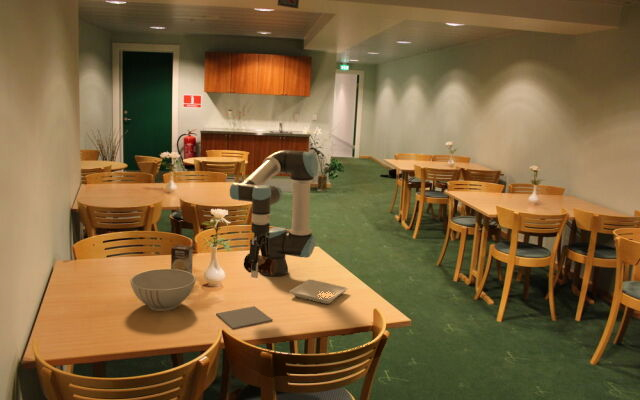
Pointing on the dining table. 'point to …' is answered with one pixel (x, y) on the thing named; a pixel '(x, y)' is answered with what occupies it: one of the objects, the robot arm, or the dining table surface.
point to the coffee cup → (262, 265)
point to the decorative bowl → (162, 287)
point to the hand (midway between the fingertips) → (258, 274)
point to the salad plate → (317, 291)
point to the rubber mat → (243, 317)
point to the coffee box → (182, 258)
